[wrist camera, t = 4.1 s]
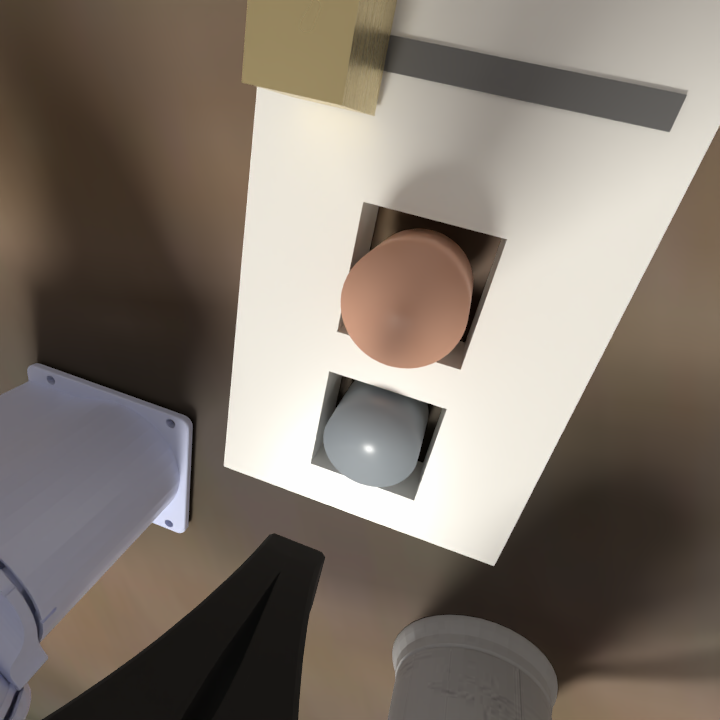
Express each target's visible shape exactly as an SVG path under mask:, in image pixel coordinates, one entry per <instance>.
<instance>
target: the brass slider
mask: <svg viewBox="0 0 720 720" xmlns="http://www.w3.org/2000/svg"><path fill="white" fill-rule="evenodd" d="M396 3H397V0H248V3H247V16H246V30H245V43H244V57H243V70H242V83H245V84H249V85H252V86H256V87H259V88H263V89H266V90H270V91H273V92H277V93H280V94H284V95H287V96H291V97H294V98H299V99H303V100H307V101H312V102H316V103H320V104H325V105H329V106H333V107H338V108H342V109H346V110H351V111H355V112H359V113H364V114H368V115H372V116H375V110H376V105H377V100H378V95H379V90H380V85H381V80H382V75H383V70H384V65H385V59H386V54H387V49H388V44H389V39H390V34H391V29H392V24H393V19H394V13H395V8H396Z"/></svg>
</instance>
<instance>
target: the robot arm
mask: <svg viewBox="0 0 720 720" xmlns="http://www.w3.org/2000/svg"><path fill="white" fill-rule="evenodd" d="M27 372H28V379H29V381H28V382H26V383H24V384H22V385H20V386H18V387H16V388H14V389H12V390H10V391H8V392H6V393H3V394H1V395H0V720H25V718H26V716H27V713H28V710H29V706H30V702H31V690H30V687H29V685H28V681H29V680H30V678H31V677H32V676H33V675H34V674H35V673H36V672H37V671H38V669H39V668H40V667H41V666H42V665H43V664H44V663H45V662H46V660H47V659H48V656H47V654H46V653H45V652H44V650H43V649H42V647H41V645H40V642H41V641H42V640H43V639H44V638H45V637H46V635H47V634H48V633H49V632H50V631H51V630H52V629H53V628H54V627H55V626H56V625H57V624H58V623H59V622H60V621H61V619H62V618H63V617H64V616H65V615H66V614H67V613H68V612H69V611H70V610H71V609H72V608H73V607H74V606H75V604H76V603H77V602H78V601H79V600H80V599H81V598H82V597H83V596H84V595H85V594H86V593H87V592H88V591H89V589H90V588H91V587H92V586H93V585H94V584H95V583H96V582H97V581H98V580H99V579H100V578H101V577H102V576H103V574H104V573H105V572H106V571H107V570H108V569H109V568H110V567H111V566H112V565H113V564H114V563H115V562H116V561H117V559H118V558H119V557H120V556H121V555H122V554H123V553H124V552H125V551H126V550H127V549H128V548H129V547H130V546H131V545H132V543H133V542H134V541H135V540H136V539H137V538H138V537H139V536H140V535H141V534H142V533H143V532H144V531H145V530H146V528H147V527H148V526H149V525H150V524H151V523H155V524H157V525H160V526H162V527H165V528H167V529H170V530H172V531H175V532H178V533H183V532H184V531H185V530H186V529H187V528H188V521H189V499H190V476H191V454H192V432H193V425H192V422H191V420H190V419H189V418H188V417H187V416H185V415H183V414H180V413H177V412H174V411H171V410H169V409H166V408H163V407H160V406H157V405H155V404H152V403H149V402H146V401H143V400H141V399H138V398H135V397H132V396H129V395H127V394H124V393H121V392H118V391H115V390H113V389H110V388H107V387H104V386H101V385H99V384H96V383H93V382H90V381H87V380H85V379H82V378H79V377H76V376H73V375H71V374H68V373H65V372H62V371H59V370H57V369H54V368H51V367H48V366H45V365H43V364H40V363H35V364H33V365H30V366H29V367H28V370H27ZM172 420H173V421H174V423H173V422H172ZM324 560H325V556H324V555H323V553H322V552H320V551H318V550H315V549H313V548H310V547H308V546H305V545H302V544H300V543H297V542H295V541H292V540H290V539H287V538H285V537H282V536H280V535H277V534H275V533H274V534H271V535H269V536H268V537H267V538H266V539H265V540H264V542H263V543H262V544H261V545H260V546H259V547H258V548H257V549H256V550H255V552H254V553H253V554H252V555H251V556H250V557H249V558H248V559H247V560H246V561H245V562H244V563H243V564H242V565H241V566H240V567H239V568H238V569H237V570H236V571H235V572H234V573H233V574H232V575H231V576H230V577H229V578H228V579H227V580H226V581H224V582H223V583H222V584H221V585H220V586H219V587H218V588H217V589H216V590H215V591H213V592H212V593H211V594H210V595H209V596H208V597H207V598H206V599H205V600H204V601H203V602H201V603H200V604H199V605H198V606H197V607H196V608H195V609H193V610H192V611H191V612H190V613H189V614H187V615H186V616H185V617H184V618H182V619H181V620H180V621H179V622H178V623H176V624H175V625H174V626H173V627H172V628H170V629H169V630H168V631H167V632H166V633H164V634H163V635H162V636H161V637H159V638H158V639H157V640H156V641H154V642H153V643H152V644H150V645H149V646H148V647H147V648H145V649H144V650H143V651H141V652H140V653H139V654H137V655H136V656H135V657H133V658H132V659H131V660H129V661H128V662H126V663H125V664H124V665H122V666H121V667H120V668H118V669H117V670H115V671H114V672H113V673H111V674H110V675H108V676H107V677H106V678H104V679H103V680H101V681H100V682H98V683H97V684H95V685H94V686H92V687H91V688H89V689H88V690H86V691H85V692H83V693H82V694H81V695H79V696H78V697H76V698H75V699H73V700H72V701H70V702H69V703H67V704H66V705H64V706H62V707H61V708H59V709H58V710H56V711H55V712H53V713H52V714H50V715H48V716H47V717H45V718H44V719H42V720H298V712H299V698H300V685H301V673H302V663H303V655H304V647H305V639H306V632H307V625H308V619H309V613H310V610H311V608H312V605H313V601H314V597H315V593H316V590H317V586H318V582H319V578H320V575H321V571H322V567H323V563H324Z"/></svg>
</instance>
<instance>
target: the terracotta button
mask: <svg viewBox="0 0 720 720" xmlns="http://www.w3.org/2000/svg"><path fill="white" fill-rule="evenodd" d="M472 293H473V273H472V269H471V265H470V263H469V260H468V258H467V256H466V255H465V253H464V252H463V250H462V249H461V248H460V247H459V245H457V244H456V243H455V242H454V241H453V240H452V239H450V238H449V237H447V236H446V235H444V234H442V233H440V232H437V231H434V230H429V229H421V228H415V229H408V230H403V231H400V232H398V233H395V234H394V235H392V236H390V237H388V238H387V239H386V240H384V241H383V242H382V243H380V244H379V245H378V246H376V247H375V248H374V249H373V250H371V251H370V252H369V253H367V254H366V255H365V256H363V257H362V258H361V259H360V260H359V261H358V262H357V263H356V264H355V265H354V266H353V268H352V269H351V270H350V272H349V274H348V275H347V277H346V280H345V282H344V285H343V288H342V292H341V314H342V319H343V322H344V325H345V328H346V330H347V332H348V334H349V335H350V337H351V339H352V340H353V341H354V343H355V344H356V345H357V346H358V347H359V348H360V349H361V350H362V351H363V352H364V353H365V354H366V355H368V356H369V357H371V358H372V359H374V360H376V361H378V362H380V363H382V364H385V365H387V366H391V367H396V368H407V369H411V368H419V367H424V366H427V365H430V364H433V363H435V362H437V361H439V360H440V359H442V358H443V357H445V356H446V355H448V354H449V353H450V352H451V351H452V350H453V349H454V348H455V346H456V345H457V344H458V343H459V341H460V339H461V338H462V336H463V334H464V331H465V329H466V326H467V322H468V317H469V311H470V305H471V299H472Z"/></svg>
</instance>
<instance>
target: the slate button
mask: <svg viewBox="0 0 720 720" xmlns="http://www.w3.org/2000/svg"><path fill="white" fill-rule="evenodd" d="M428 416H429V411H428V404H427V403H426V402H423V401H420V400H417V399H414V398H411V397H408V396H404V395H401V394H398V393H395V392H392V391H389V390H386V389H383V388H380V387H377V386H374V385H370V384H367V383H364V382H361V381H358V380H355V381H354V382H353V383H352V384H351V386H350V387H349V389H348V390H347V392H346V394H345V395H344V397H343V398H342V400H341V401H340V403H339V405H338V406H337V408H336V409H335V411H334V413H333V414H332V416H331V417H330V419H329V421H328V422H327V424H326V426H325V430H324V435H323V443H324V448H325V451H326V454H327V456H328V458H329V460H330V461H331V463H332V464H333V465H334V467H335V468H336V469H337V470H338V471H339V472H340V473H342V474H343V475H344V476H346V477H347V478H349V479H350V480H352V481H354V482H357V483H359V484H362V485H365V486H370V487H387V486H392V485H395V484H398V483H400V482H402V481H403V480H405V479H406V478H407V477H408V476H409V475H410V474H411V473H412V472H413V470H414V469H415V466H416V464H417V461H418V457H419V453H420V449H421V445H422V441H423V437H424V433H425V429H426V425H427V421H428Z"/></svg>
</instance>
